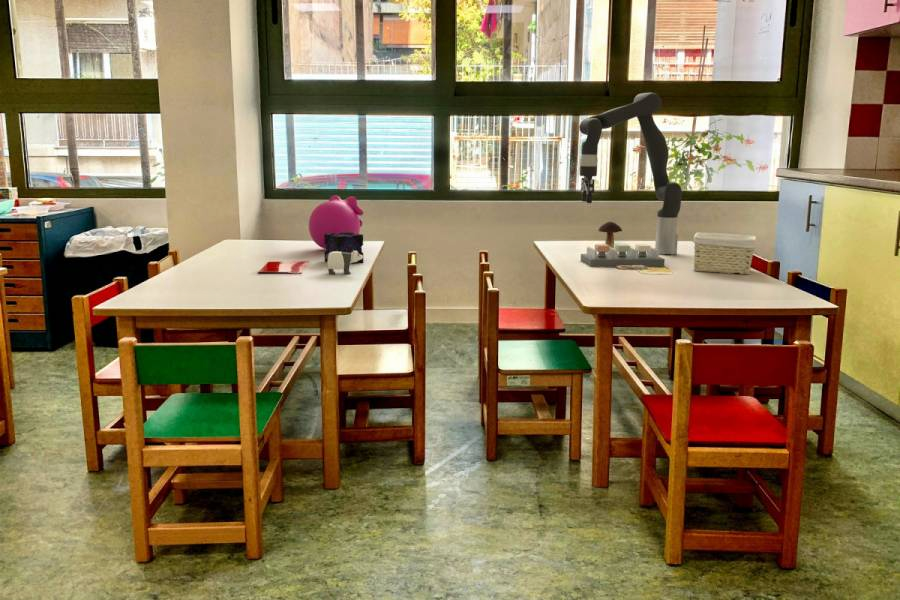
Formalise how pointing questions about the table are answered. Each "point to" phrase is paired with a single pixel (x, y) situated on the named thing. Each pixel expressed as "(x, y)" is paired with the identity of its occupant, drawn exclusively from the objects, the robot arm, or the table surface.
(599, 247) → the orange cube
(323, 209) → the figurine
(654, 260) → the grey shelf board
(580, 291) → the table surface
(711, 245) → the storage basket
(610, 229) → the decorative mushroom
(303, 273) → the table surface
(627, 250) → the key sage
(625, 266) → the strip
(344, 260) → the giant panda
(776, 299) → the table surface
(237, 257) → the table surface
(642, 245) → the key ivory
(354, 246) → the energy cube
